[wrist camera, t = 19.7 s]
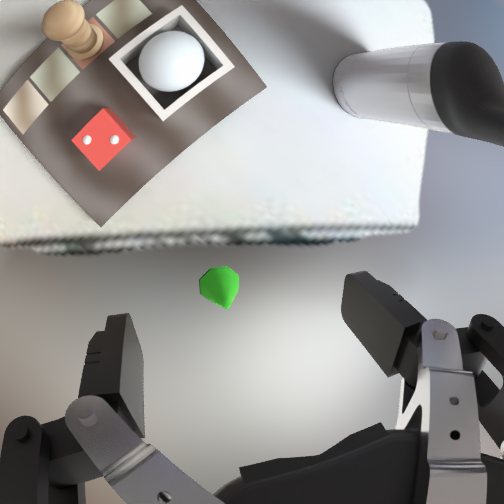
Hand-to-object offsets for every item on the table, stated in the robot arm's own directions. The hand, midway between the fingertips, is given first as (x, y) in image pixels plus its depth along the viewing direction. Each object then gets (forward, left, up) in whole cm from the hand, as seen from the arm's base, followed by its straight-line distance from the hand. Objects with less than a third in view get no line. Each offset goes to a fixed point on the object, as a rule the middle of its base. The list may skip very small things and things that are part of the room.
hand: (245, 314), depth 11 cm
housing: (-6, -11, -26) cm, 29 cm away
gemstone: (+7, +15, -28) cm, 33 cm away
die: (+4, -9, -26) cm, 28 cm away
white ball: (-6, -11, -26) cm, 29 cm away
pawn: (-1, -20, -26) cm, 33 cm away
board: (-1, -13, -28) cm, 31 cm away
